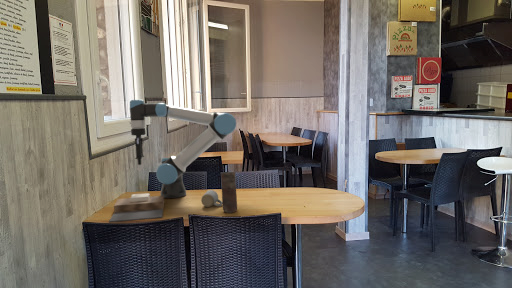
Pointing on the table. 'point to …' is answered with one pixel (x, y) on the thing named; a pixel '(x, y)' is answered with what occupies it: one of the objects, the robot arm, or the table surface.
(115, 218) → the mat
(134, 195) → the tile
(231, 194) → the brown rectangular block
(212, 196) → the ceramic mug
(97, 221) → the table surface
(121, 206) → the riser
